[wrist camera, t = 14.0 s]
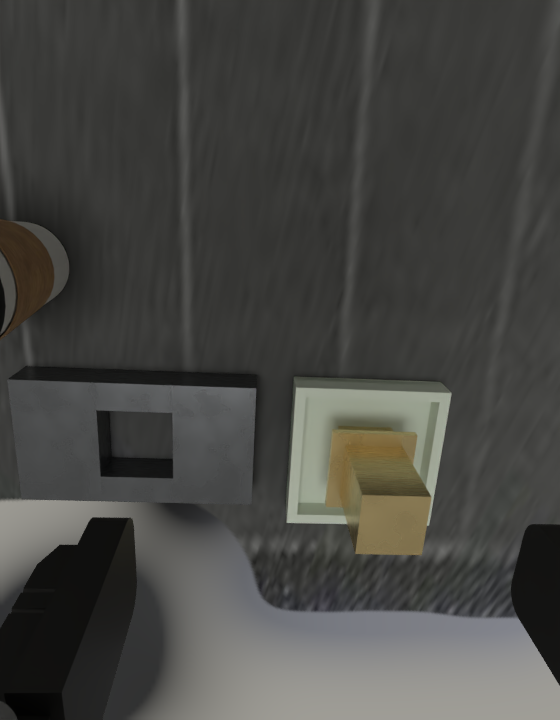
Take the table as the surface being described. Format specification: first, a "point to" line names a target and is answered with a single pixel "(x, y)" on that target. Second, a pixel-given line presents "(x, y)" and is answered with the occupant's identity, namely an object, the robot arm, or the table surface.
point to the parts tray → (363, 409)
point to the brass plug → (378, 489)
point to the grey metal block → (93, 444)
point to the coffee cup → (28, 271)
